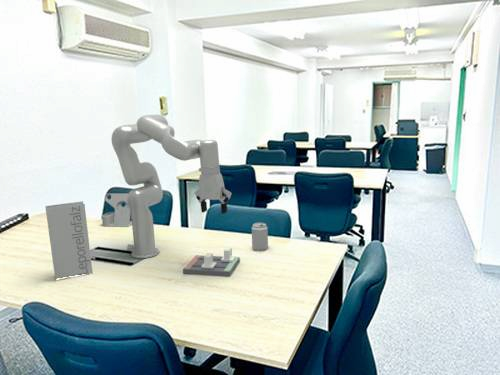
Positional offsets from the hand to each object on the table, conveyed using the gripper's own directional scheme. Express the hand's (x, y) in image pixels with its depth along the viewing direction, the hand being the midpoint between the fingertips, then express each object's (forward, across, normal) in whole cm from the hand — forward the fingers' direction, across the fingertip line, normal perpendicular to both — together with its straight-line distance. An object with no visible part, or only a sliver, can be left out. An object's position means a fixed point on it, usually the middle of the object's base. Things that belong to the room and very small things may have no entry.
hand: (214, 212), depth 171 cm
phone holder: (+21, -91, +34) cm, 99 cm away
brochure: (+22, -53, -30) cm, 64 cm away
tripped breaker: (+22, -2, -4) cm, 22 cm away
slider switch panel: (+24, -3, -1) cm, 24 cm away
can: (+25, +5, +28) cm, 38 cm away
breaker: (+22, +2, +5) cm, 23 cm away
